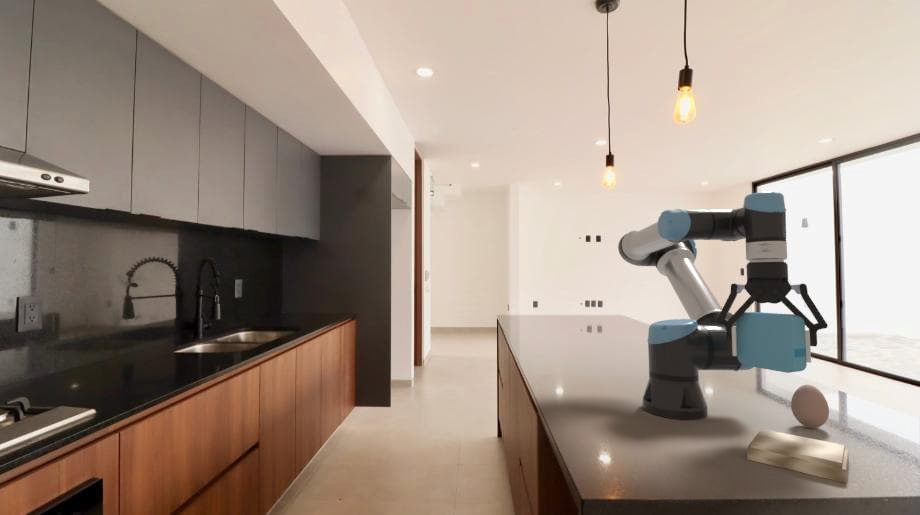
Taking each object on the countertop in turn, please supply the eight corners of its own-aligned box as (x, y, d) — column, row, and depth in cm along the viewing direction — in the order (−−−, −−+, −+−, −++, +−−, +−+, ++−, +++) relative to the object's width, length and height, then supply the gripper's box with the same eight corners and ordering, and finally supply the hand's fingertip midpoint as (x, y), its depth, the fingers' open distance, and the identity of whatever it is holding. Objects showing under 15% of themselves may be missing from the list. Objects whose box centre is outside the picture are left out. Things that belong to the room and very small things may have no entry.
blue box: (807, 372, 91) (805, 315, 92) (794, 374, 89) (791, 315, 90) (749, 362, 102) (748, 311, 103) (737, 364, 100) (735, 312, 101)
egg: (835, 434, 95) (834, 389, 96) (799, 430, 98) (797, 387, 98) (821, 424, 102) (819, 382, 102) (787, 421, 104) (785, 380, 105)
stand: (747, 459, 82) (747, 443, 82) (758, 442, 91) (758, 427, 91) (846, 483, 72) (845, 464, 73) (848, 461, 81) (848, 445, 81)
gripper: (701, 262, 101) (704, 354, 100) (841, 259, 87) (846, 367, 85) (706, 263, 107) (709, 350, 106) (837, 260, 93) (842, 362, 91)
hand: (770, 358), depth 96 cm, fingers closed on blue box, 12 cm apart
